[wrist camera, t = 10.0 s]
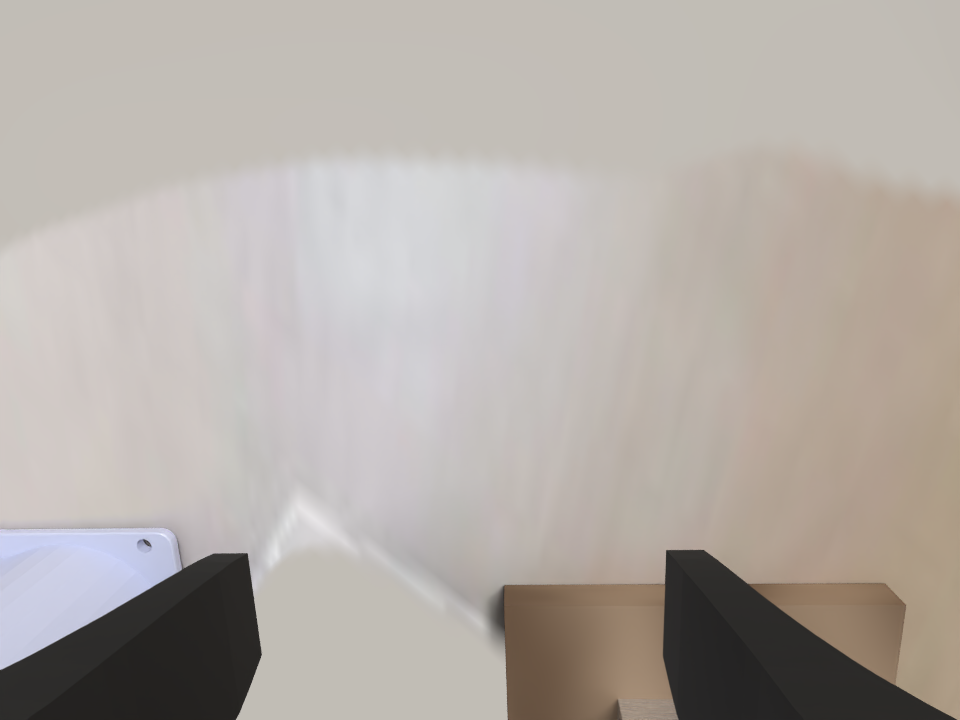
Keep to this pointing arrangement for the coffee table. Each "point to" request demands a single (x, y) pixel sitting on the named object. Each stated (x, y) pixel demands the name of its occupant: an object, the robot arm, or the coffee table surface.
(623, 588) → the brown peg base
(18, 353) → the coffee table surface
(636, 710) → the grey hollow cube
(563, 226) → the coffee table surface
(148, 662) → the robot arm
